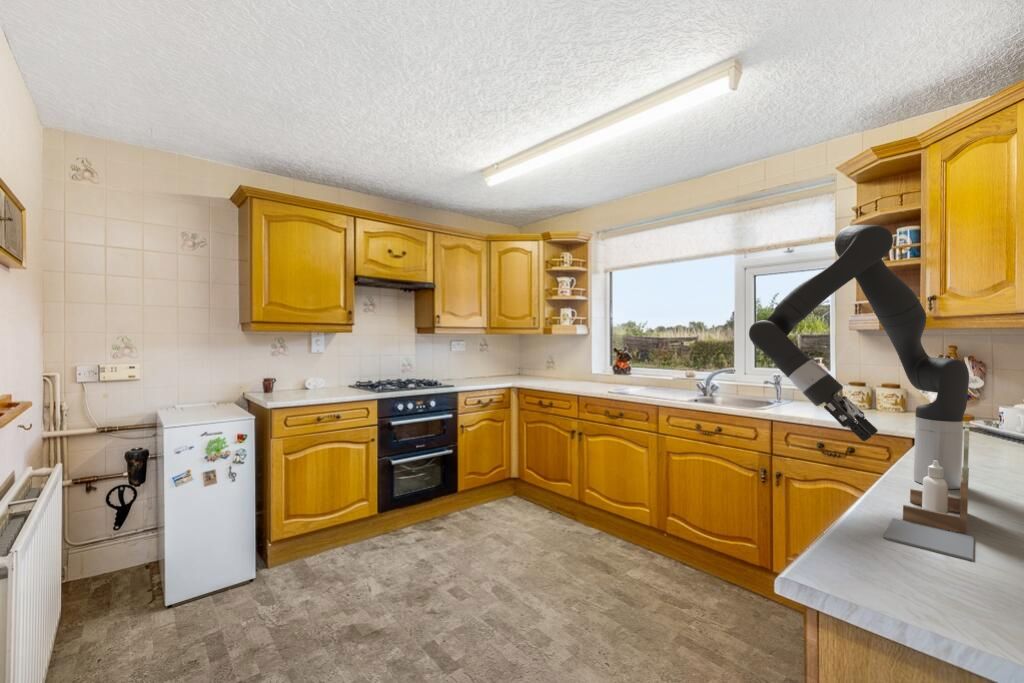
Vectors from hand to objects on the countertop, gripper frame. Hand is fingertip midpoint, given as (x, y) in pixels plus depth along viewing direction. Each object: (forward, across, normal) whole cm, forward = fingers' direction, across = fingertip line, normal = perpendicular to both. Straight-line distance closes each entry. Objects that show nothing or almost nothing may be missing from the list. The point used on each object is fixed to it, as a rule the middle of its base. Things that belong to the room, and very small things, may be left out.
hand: (871, 436), depth 107 cm
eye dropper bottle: (+19, 0, +3) cm, 19 cm away
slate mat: (+19, -16, +3) cm, 25 cm away
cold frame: (+19, 0, +3) cm, 19 cm away
